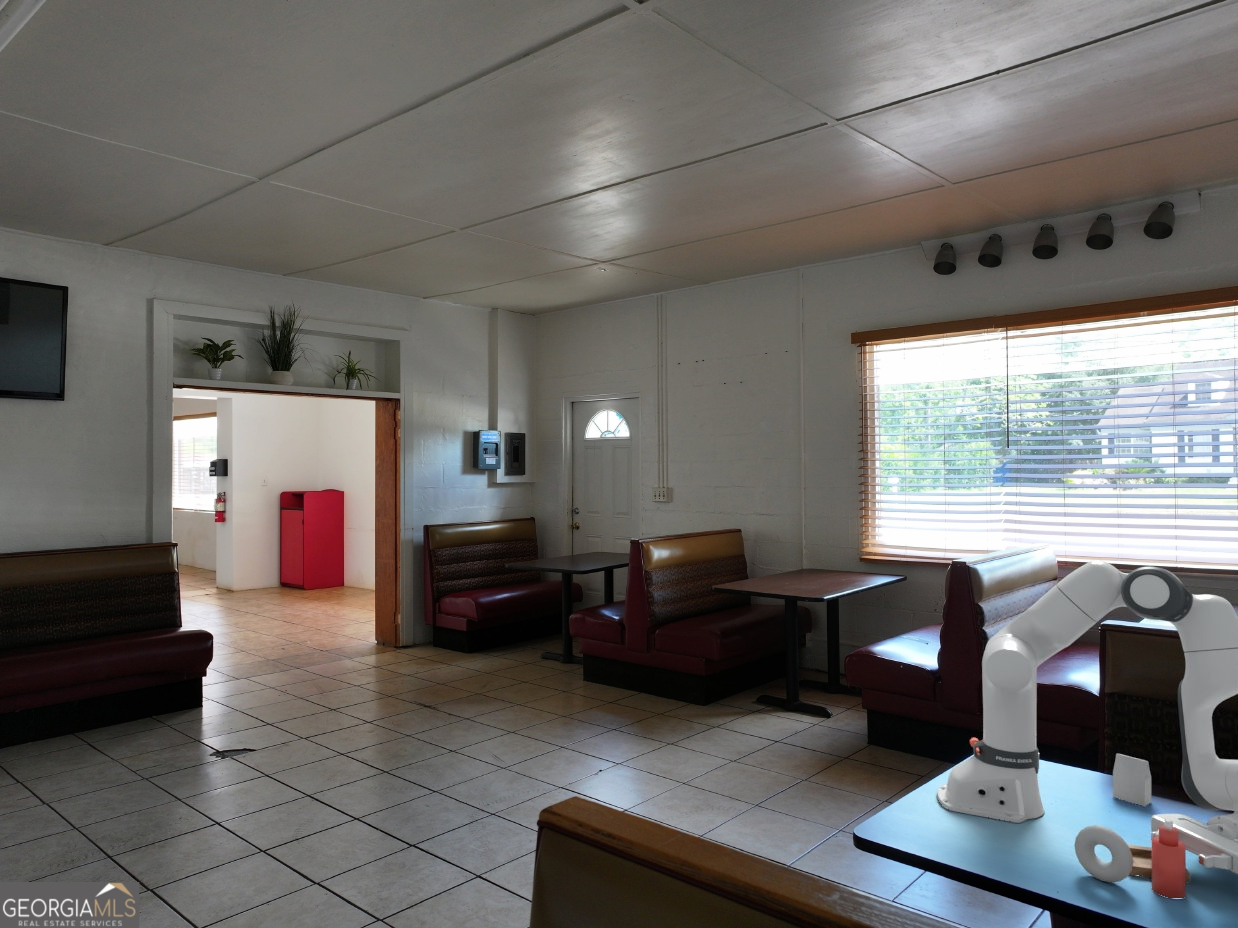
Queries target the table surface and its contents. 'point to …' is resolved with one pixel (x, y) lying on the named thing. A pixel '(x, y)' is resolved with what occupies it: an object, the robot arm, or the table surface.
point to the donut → (1115, 844)
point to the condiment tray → (1144, 862)
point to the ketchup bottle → (1168, 863)
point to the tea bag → (1132, 780)
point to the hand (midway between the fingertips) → (1177, 849)
